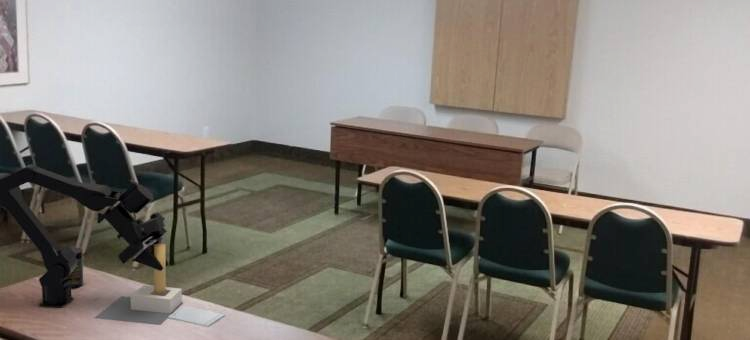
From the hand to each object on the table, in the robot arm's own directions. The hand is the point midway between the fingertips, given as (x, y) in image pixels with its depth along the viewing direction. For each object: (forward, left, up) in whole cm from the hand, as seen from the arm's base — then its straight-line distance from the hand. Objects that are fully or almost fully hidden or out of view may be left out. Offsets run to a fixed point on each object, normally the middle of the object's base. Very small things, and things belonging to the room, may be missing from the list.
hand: (164, 267), depth 198 cm
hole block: (-2, 0, -11) cm, 11 cm away
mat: (-5, -4, -12) cm, 13 cm away
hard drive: (+11, -4, -12) cm, 17 cm away
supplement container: (-32, +9, -12) cm, 36 cm away
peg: (-1, 0, -7) cm, 7 cm away
